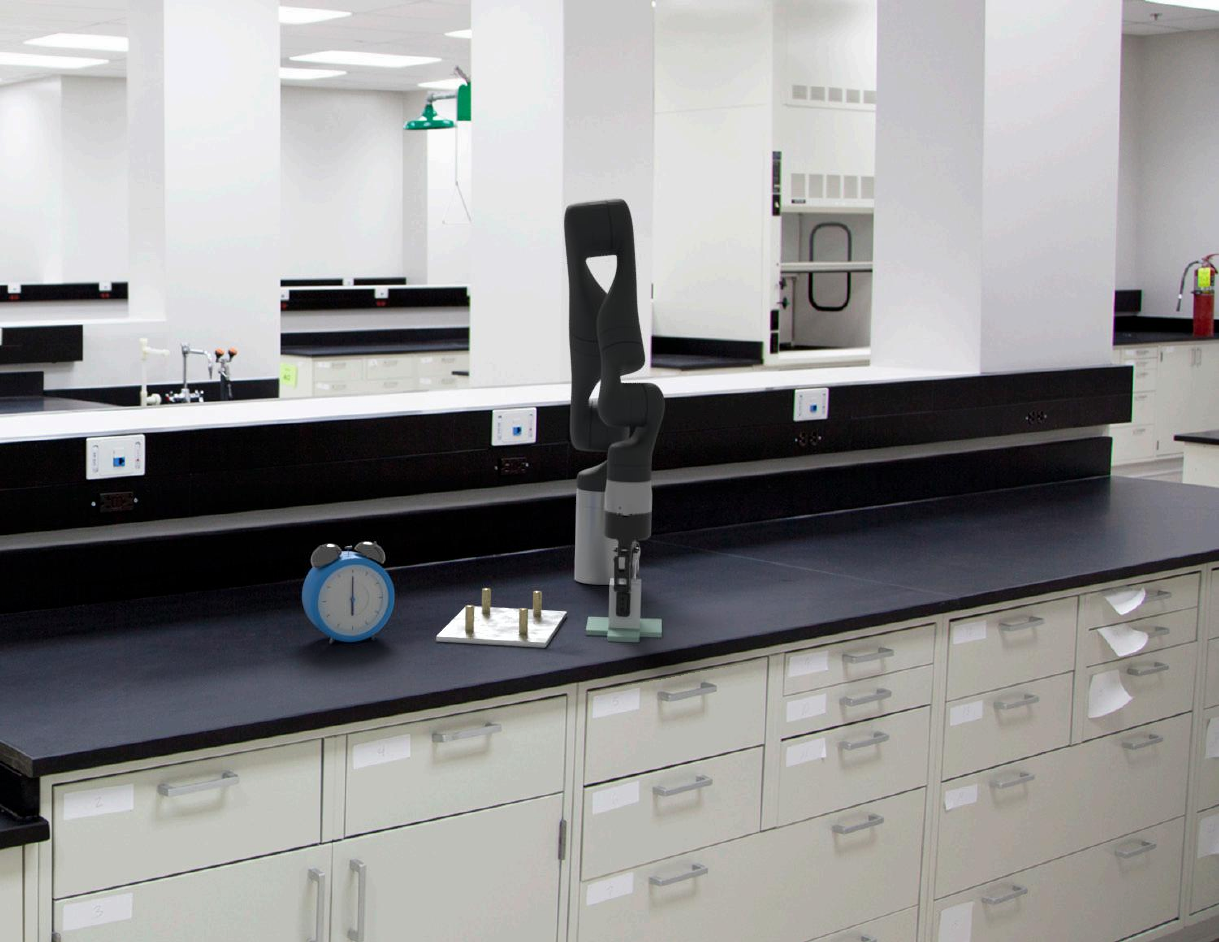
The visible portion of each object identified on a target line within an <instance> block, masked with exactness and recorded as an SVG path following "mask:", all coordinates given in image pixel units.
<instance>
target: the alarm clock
mask: <svg viewBox="0 0 1219 942" xmlns="http://www.w3.org/2000/svg"><path fill="white" fill-rule="evenodd" d="M344 549H345V550H347V551H342V549H341V547H339V546H338V545H337V544H335V543H325V544H322V545H321V544H320V545H319V546H318V547H317V548H316V549H315V550H314V551H313V552H312V555H311V557H310V563H311V566H312V568H311V569H310V570H309V571H308V574H307V575H306V578H305V580H304V582H303V586H302V591H301V600H302V601H301V602H302V606H303V610H304V612H305V614H306V616H307V618H308V619H309V620H310V623H312V624H313V625H314V626H315V627H316V628H318V630H320V631H321V632H323V634H324V635H326V636H328V637H329V638H330V640H329V645H332V644H333V643H334V641H335V640H336V641H338V642H345V643H356V642H360V641H363V640H366V639H369V638H371V640H372V641H375V637H374V635H375V634H377V633H378V632H379V631H380V630H381V629H382V628H383V627H384V626H385V625H386V624H387V622H388V620H390V617H391V615H392V613H393V610H394V606H395V597H396V596H395V588H394V583H393V581H392V579H391V577H390V576H389V575H390V574H389V573H388V572H387V571H386V570H385V569H384V567H382V566H381V565H380V564H384V562H385V561H386V555H385V552H384V550H383V549H382V547H381V546H380V545H378V544H377V541H374V542H371V541H361V542H358V544H356V545H355V547H354V550H355V551H357V552H355V551H350V549H353V546H352V545H349V546H344ZM370 558H371V559H370ZM374 560H375V561H374ZM377 562H378V563H380V564H378V563H377Z"/></svg>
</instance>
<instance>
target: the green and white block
mask: <svg viewBox="0 0 1219 942" xmlns="http://www.w3.org/2000/svg"><path fill="white" fill-rule="evenodd" d="M619 584H626V579H620V583H619ZM613 587H614V578H610V584H609V592H608V593H609V594H608V596H609V597H608V617H606V616H604V617H603V616H588V618H587V623H586V628H585V635H586V636H604V637H605V636H606V641H607V642H622V643H624V642H625V643H640V638H662V634H663V627H662V620H663V619H662V618H641V603H642V602H641V600H642V599H641V597H642V578H637V579H634V580H632V587H631V588H632V592H631V600H630V615H629V616H628V617H619V616H617V615H616V593H615V592H614V589H613Z"/></svg>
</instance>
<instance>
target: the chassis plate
mask: <svg viewBox="0 0 1219 942" xmlns="http://www.w3.org/2000/svg"><path fill="white" fill-rule="evenodd" d="M481 590H482V591H481V606H475V605H472V604H471V605H470V604H468V605H465V606H464V608H463V609H462V610H461V611H460V612H459V613H458V614H457V615H456V616H454V618H453V619H452V620H450V622H449V623H448V624H447V625H446V626H445V627H444V628H443V629H442V630H441V631H439V633H438V634H437V635H436V637H435V641H436V642H441V643H443V642H444V643H457V644H458V643H459V644H460V643H461V644H474V645H475V644H476V645H477V644H478V645H490V646H491V645H493V646H494V645H495V646H507V647H509V646H510V647H511V646H512V647H529V648H542V649H543V648H546V647H547V646H548V645H549V643H550V642H551V640H552V639H553V638H554V635H555V634H556V633H557V631H558V630H559V628H560V627H561V625H562V624H563V623H564V621H565V620H566V618H567V615H568V614H567V613H568V612H567V611H565V610H548V609H546V610H544V609H542V605H543V601H542V600H543V592H542V591H540V590H534V591H532V593H533V595H532V597H533V598H532V609H529V608H526V607H520V608H513V607H512V608H509V607H493V606H491V604H492V602H491V599H492V597H491V593H492V590H491V588H489V587H488V588H487V587H484V588H482V589H481Z"/></svg>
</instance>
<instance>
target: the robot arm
mask: <svg viewBox="0 0 1219 942" xmlns="http://www.w3.org/2000/svg"><path fill="white" fill-rule="evenodd" d="M563 216H564V217H563V230H564V244H565V256H566V266H567V276H568V341H569V342H568V343H569V354H570V356H569V357H570V371H571V375H570V376H571V381H570V382H571V383H570V384H571V389H570V411H569V413H570V414H569V433H570V435H569V437H570V440H571V441H570V442H571V444H572V446H573V448H575V449H576V450H579V451H584V452H603V453H604V452H607V459H606V460H605V461H604V462H602V463H600V464H598V465H595V466H593V467H590V468H586V469H584V470H581V471H579V472H578V474H577V476H576V501H575V503H576V504H575V548H574V580H575V581H576V582H578V583H582V584H588V585H598V586H599V585H603V586H604V585H605V586H607V585H610V578H614V587H613V589H614V592H615V593H616V615H617V616H619V617H628V616H629V615H630V600H631V592H632V588H631V587H632V580H634V579H638V577H639V574H638V573H639V569H640V565H639V564H640V562H639V561H640V556H641V547H640V543H639V542H638V541H643V540H644V541H645V540H648V539H649V538H650V537H651V535H652V510H653V509H652V506H653V491H652V462H653V461H652V458H653V453H654V452H653V451H654V449H655V445H656V440H657V437H658V433H659V430H660V427H661V424H662V421H663V419H664V414H665V408H666V402H665V395H664V394H663V391H662V389H661V388H660V387H659V386H658V385H657V384H655V383H653V382H622V380H621V377H623V376H626V375H630V374H633V373H636V372H639V371H640V370H642V368H644V366H645V364H646V354H645V347H644V342H643V336H642V335H643V334H642V328H641V323H640V318H639V317H640V316H639V307H638V285H637V284H638V282H637V262H636V249H635V248H636V247H635V246H636V245H635V234H634V225H633V224H634V223H633V218H632V213H631V210H630V207H629V205H628V203H627V202H626V200H625V199H622V198H605V199H594V200H585V201H584V200H581V201H576V202H573V203H572V202H571V203H569V205H568V206H566V208H565V210H564V215H563ZM610 256H616V270H615V274H614V277H613V280H612V283H611V285H610V287H609V288H608V291H607V292H606V290H605V289H604V288H603V287H602V286H601V284H600V283H599V282H598V281H597V280H596V278H595V277H594V274H593V273H592V272H591V270H590V268H589V266H588V263H587V259H591V258H599V257H610ZM599 382H600V384H599V390H598V397H597V400H590V398H591V396H592V394H593V392H594V390H595V388H596V387H597V385H598V383H599ZM631 428H635V429H634V432H633V434H632V435H631V436H630V430H631ZM620 579H626V584H619V583H620Z"/></svg>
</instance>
